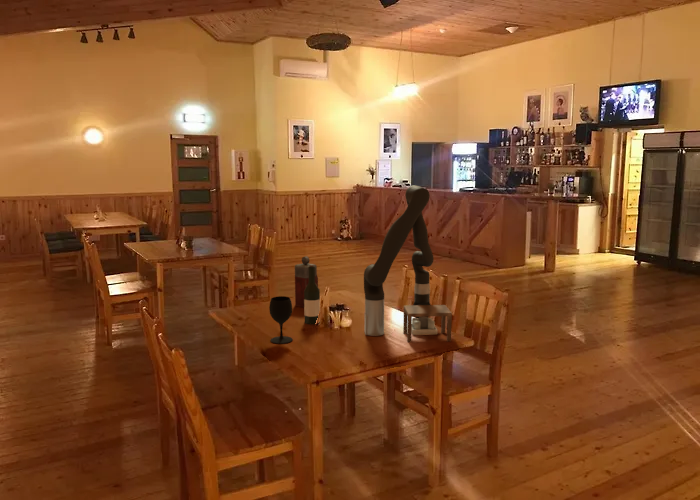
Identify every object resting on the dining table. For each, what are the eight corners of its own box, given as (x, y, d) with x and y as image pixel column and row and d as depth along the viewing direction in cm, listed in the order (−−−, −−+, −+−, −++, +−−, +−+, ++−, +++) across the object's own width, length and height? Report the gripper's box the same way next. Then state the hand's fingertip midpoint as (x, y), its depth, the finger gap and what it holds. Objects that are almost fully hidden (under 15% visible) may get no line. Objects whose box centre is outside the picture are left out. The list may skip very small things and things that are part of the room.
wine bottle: (301, 323, 295) (300, 265, 290) (308, 319, 303) (307, 262, 298) (316, 325, 292) (315, 266, 287) (323, 320, 300) (322, 263, 294)
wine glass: (274, 345, 262) (273, 302, 259) (267, 338, 271) (265, 297, 268) (296, 341, 267) (295, 299, 263) (287, 335, 276) (287, 294, 273)
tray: (412, 335, 277) (412, 320, 275) (409, 328, 286) (409, 314, 285) (437, 334, 277) (437, 320, 276) (433, 328, 287) (433, 314, 286)
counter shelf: (407, 342, 266) (408, 313, 264) (403, 332, 280) (403, 305, 278) (450, 341, 267) (451, 312, 265) (444, 331, 281) (445, 304, 279)
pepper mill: (320, 303, 333) (319, 255, 328) (306, 307, 325) (305, 258, 320) (308, 301, 339) (308, 254, 334) (295, 305, 330) (294, 256, 326)
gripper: (433, 289, 289) (433, 323, 292) (407, 290, 288) (407, 323, 291) (437, 293, 281) (436, 327, 284) (410, 294, 280) (409, 328, 283)
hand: (421, 325), depth 288 cm, fingers closed
